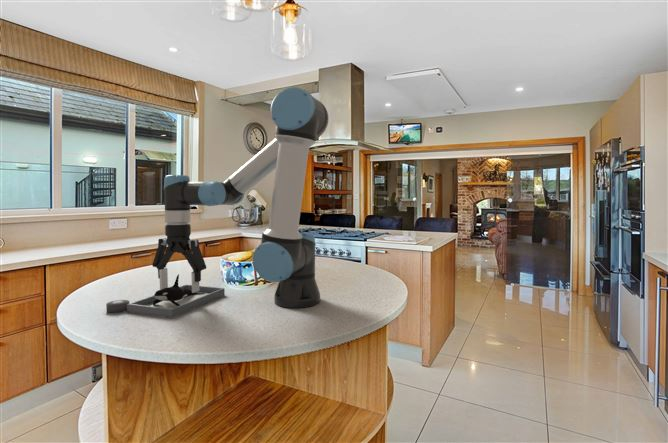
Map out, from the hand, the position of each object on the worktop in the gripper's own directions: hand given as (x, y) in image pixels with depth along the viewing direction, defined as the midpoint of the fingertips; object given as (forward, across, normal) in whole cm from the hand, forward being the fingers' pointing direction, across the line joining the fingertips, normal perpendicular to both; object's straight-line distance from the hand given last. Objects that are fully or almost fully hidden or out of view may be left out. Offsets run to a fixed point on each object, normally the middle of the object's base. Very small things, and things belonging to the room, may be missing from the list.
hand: (179, 290), depth 117 cm
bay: (+4, 0, 0) cm, 4 cm away
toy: (+4, 0, 0) cm, 4 cm away
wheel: (+4, +12, +12) cm, 18 cm away
